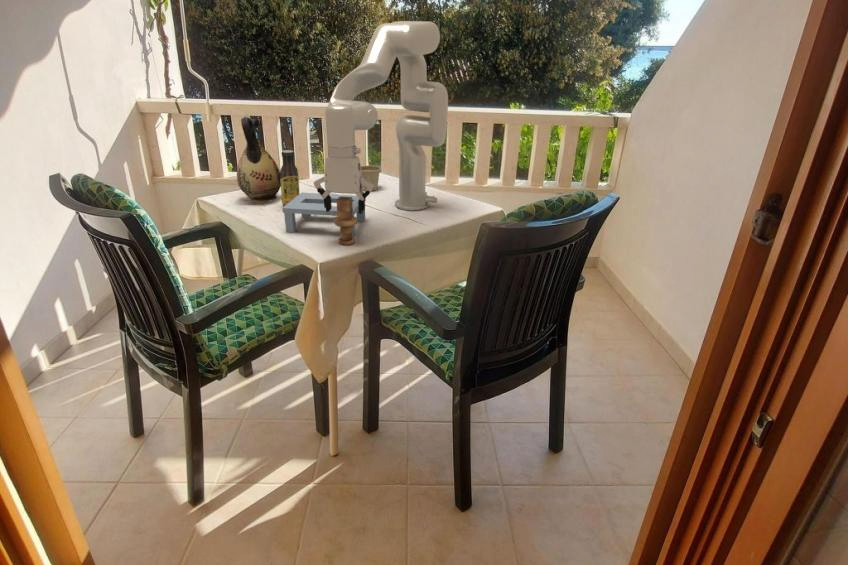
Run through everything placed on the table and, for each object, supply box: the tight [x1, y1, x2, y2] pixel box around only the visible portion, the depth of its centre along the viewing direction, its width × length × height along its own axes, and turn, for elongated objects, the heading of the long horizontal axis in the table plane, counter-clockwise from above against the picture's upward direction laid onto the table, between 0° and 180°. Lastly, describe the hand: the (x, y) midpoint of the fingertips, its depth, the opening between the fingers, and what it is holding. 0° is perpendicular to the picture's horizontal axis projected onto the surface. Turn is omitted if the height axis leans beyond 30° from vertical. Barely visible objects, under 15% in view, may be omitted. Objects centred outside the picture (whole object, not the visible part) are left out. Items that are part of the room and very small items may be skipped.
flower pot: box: [361, 165, 382, 192], centre depth 197 cm, size 9×9×9 cm
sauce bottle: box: [279, 149, 301, 208], centre depth 172 cm, size 6×6×20 cm
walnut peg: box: [334, 197, 358, 246], centre depth 144 cm, size 6×6×14 cm
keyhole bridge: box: [281, 192, 367, 238], centre depth 158 cm, size 17×22×8 cm
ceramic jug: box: [236, 116, 281, 204], centre depth 176 cm, size 17×15×30 cm
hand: (345, 211), depth 143 cm, fingers open, 9 cm apart
